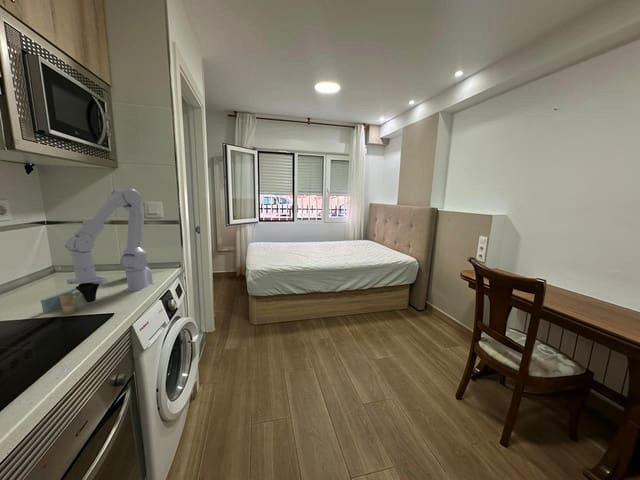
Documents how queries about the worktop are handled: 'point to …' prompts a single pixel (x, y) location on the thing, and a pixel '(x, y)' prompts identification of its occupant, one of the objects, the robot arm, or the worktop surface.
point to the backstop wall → (54, 301)
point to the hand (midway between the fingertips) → (91, 301)
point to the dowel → (68, 303)
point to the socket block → (78, 299)
